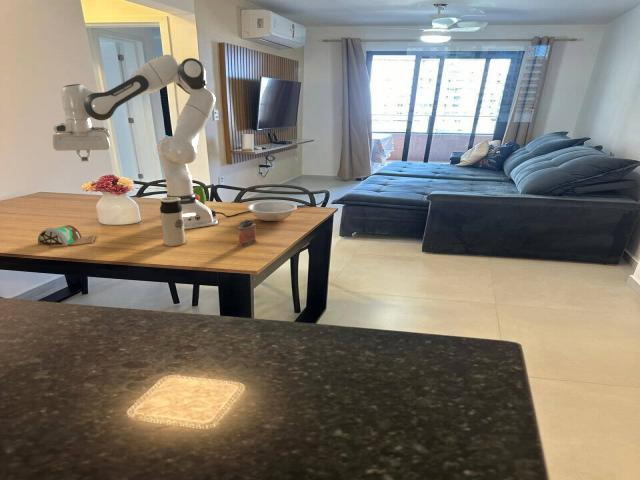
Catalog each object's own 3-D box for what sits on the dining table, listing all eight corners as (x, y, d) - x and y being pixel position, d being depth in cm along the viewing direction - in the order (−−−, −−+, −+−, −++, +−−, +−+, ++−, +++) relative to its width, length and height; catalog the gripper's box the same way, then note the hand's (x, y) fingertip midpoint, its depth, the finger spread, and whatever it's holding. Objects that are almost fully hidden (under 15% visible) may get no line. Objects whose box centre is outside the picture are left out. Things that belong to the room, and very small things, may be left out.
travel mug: (160, 243, 151) (155, 198, 146) (179, 238, 157) (174, 195, 151) (170, 247, 146) (165, 202, 141) (189, 243, 152) (185, 199, 146)
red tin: (252, 240, 157) (251, 216, 154) (257, 242, 155) (257, 218, 152) (236, 245, 151) (235, 220, 148) (242, 247, 149) (241, 222, 146)
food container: (81, 223, 152) (61, 230, 143) (84, 238, 154) (64, 246, 145) (55, 221, 154) (33, 228, 145) (58, 235, 156) (36, 243, 147)
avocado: (206, 208, 204) (205, 186, 200) (191, 209, 202) (189, 187, 198) (206, 205, 212) (204, 184, 208) (191, 206, 209) (189, 184, 206)
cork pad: (95, 236, 157) (95, 235, 157) (92, 243, 150) (92, 242, 149) (55, 240, 152) (55, 239, 152) (50, 247, 144) (50, 246, 144)
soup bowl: (282, 211, 203) (282, 199, 200) (305, 222, 184) (305, 209, 181) (240, 217, 190) (239, 204, 188) (260, 229, 171) (259, 215, 169)
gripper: (109, 126, 162) (114, 159, 166) (52, 126, 154) (59, 161, 159) (107, 127, 156) (112, 161, 161) (48, 127, 149) (55, 162, 153)
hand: (85, 161), depth 160 cm, fingers closed
